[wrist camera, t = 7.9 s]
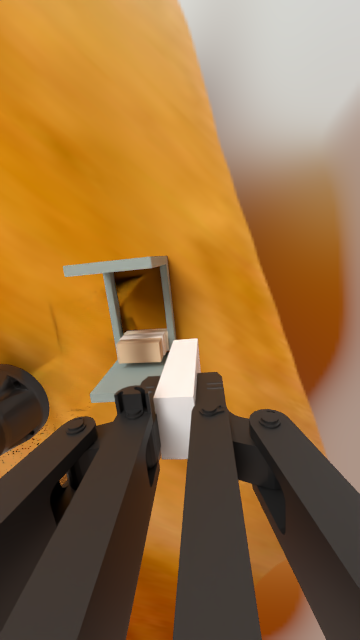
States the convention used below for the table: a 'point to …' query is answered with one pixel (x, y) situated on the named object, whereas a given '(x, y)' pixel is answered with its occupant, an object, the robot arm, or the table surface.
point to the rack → (122, 372)
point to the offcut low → (150, 332)
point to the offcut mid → (148, 335)
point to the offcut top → (140, 350)
